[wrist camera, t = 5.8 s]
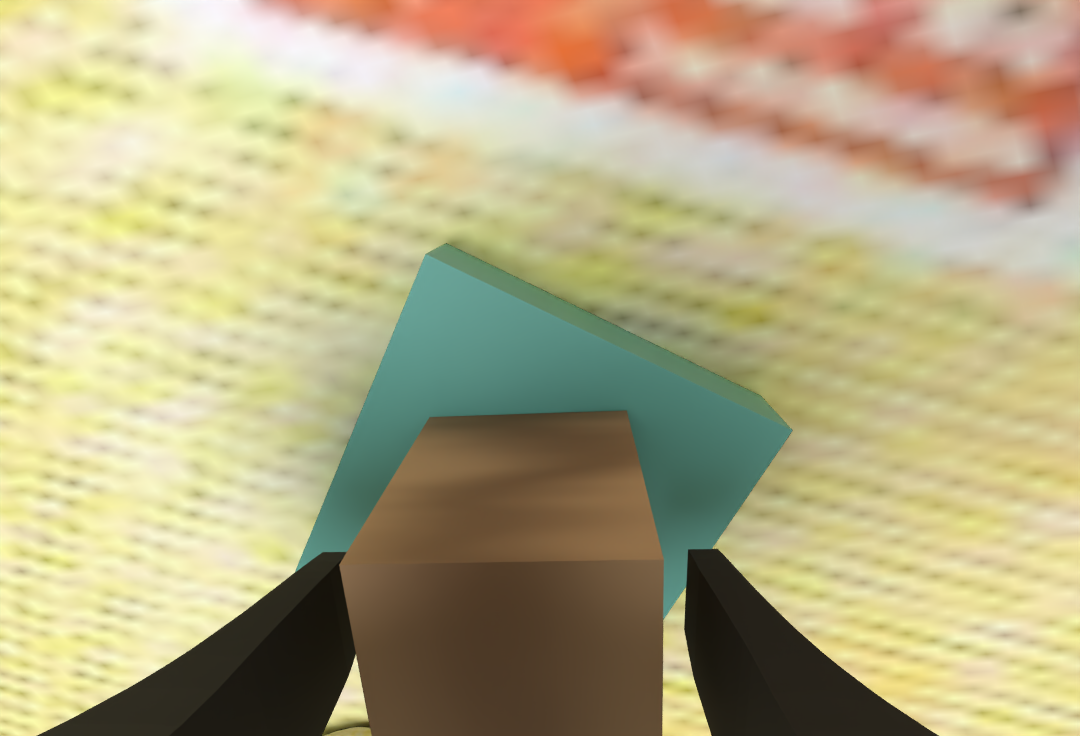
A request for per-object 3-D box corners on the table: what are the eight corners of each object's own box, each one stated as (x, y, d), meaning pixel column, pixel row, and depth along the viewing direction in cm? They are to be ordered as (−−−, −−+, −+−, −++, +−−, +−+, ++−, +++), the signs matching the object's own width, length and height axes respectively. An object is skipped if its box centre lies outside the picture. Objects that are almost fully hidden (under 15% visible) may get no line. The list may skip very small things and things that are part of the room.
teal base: (754, 389, 17) (792, 430, 14) (600, 628, 20) (606, 702, 17) (449, 241, 16) (425, 253, 13) (334, 515, 19) (294, 574, 16)
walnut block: (626, 410, 14) (663, 559, 9) (628, 579, 16) (661, 801, 10) (429, 416, 15) (338, 565, 9) (450, 581, 16) (383, 798, 10)
